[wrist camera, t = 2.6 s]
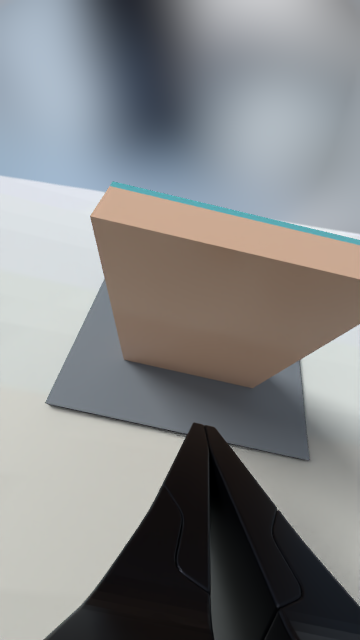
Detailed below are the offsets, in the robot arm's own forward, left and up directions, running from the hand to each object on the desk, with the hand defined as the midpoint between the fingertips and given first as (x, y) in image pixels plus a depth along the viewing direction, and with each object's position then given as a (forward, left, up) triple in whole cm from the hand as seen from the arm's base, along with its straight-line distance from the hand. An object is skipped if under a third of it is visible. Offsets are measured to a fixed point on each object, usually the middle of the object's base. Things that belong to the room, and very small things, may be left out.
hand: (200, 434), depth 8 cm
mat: (+6, -8, -8) cm, 12 cm away
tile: (+3, -5, -7) cm, 9 cm away
